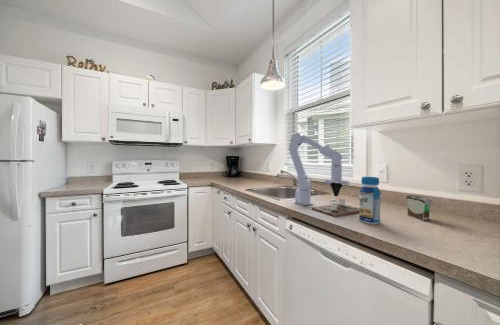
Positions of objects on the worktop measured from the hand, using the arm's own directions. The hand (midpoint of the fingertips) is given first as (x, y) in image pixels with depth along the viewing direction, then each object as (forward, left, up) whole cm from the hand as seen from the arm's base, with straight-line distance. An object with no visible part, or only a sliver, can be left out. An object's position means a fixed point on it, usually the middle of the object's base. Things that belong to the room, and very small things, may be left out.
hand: (336, 196), depth 120 cm
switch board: (+7, -7, -6) cm, 11 cm away
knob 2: (+10, -13, -4) cm, 17 cm away
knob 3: (+4, 0, -4) cm, 6 cm away
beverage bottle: (+27, -10, -7) cm, 29 cm away
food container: (+34, +18, -7) cm, 39 cm away
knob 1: (+4, -7, -4) cm, 9 cm away
